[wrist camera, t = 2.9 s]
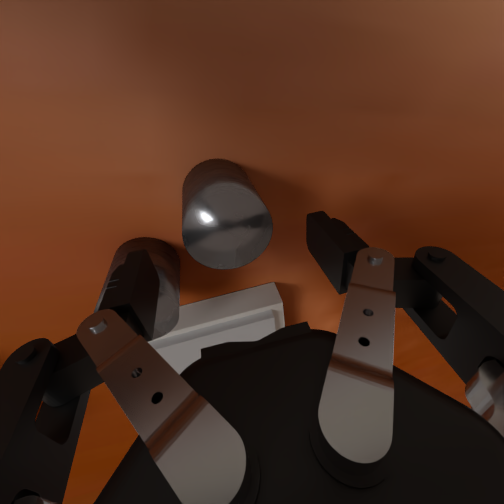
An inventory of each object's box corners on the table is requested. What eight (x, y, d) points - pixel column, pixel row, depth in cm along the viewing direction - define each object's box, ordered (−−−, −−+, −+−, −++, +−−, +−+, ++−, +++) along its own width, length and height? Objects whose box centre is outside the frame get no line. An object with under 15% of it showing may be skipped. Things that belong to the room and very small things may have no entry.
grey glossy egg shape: (172, 166, 15) (168, 203, 11) (245, 151, 15) (268, 181, 11) (193, 230, 17) (196, 277, 13) (255, 215, 18) (275, 258, 14)
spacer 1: (101, 245, 17) (76, 301, 13) (168, 230, 17) (163, 279, 13) (130, 291, 19) (116, 349, 15) (187, 277, 20) (188, 330, 16)
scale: (122, 321, 21) (99, 418, 15) (274, 281, 22) (306, 358, 16) (184, 405, 31) (184, 482, 25) (284, 375, 32) (306, 442, 27)
